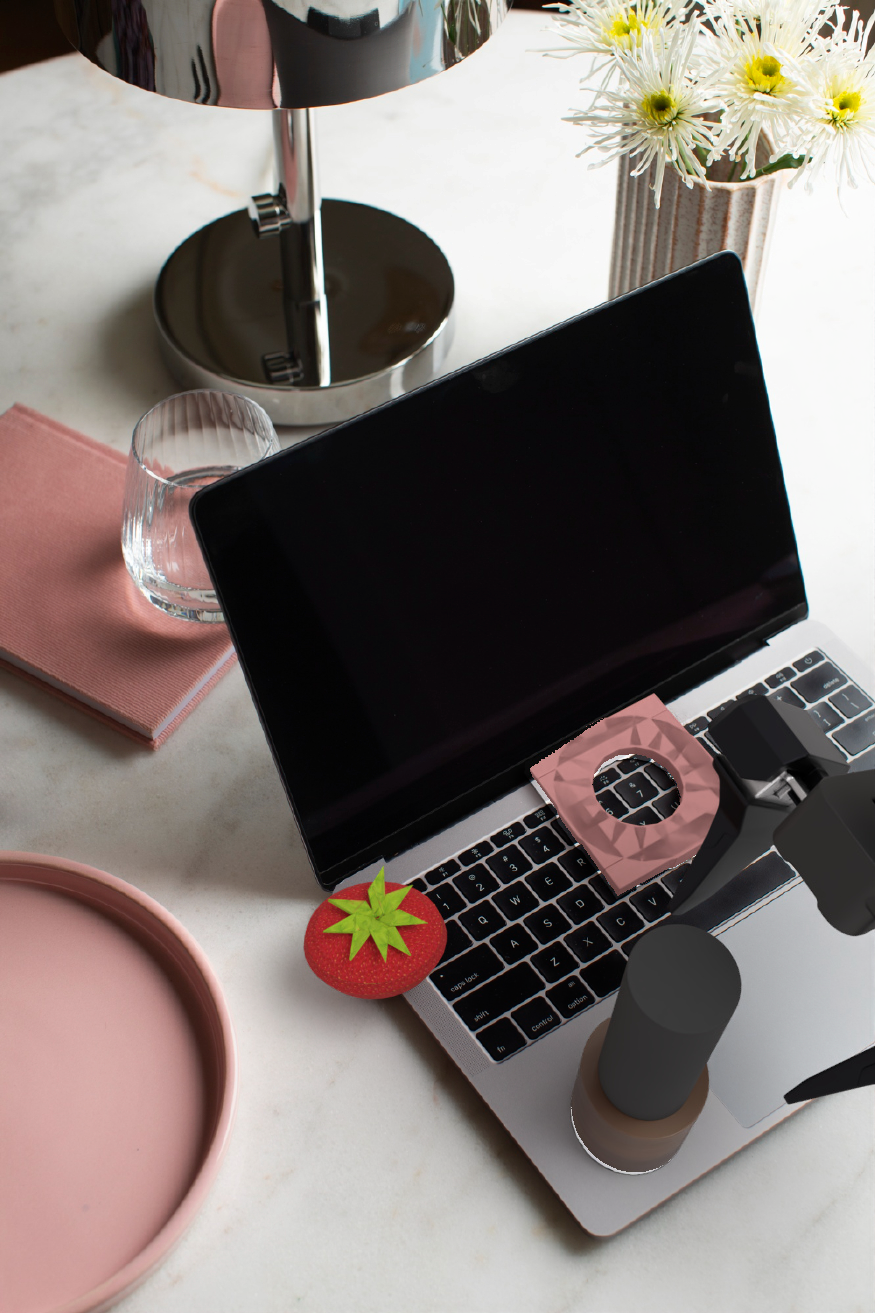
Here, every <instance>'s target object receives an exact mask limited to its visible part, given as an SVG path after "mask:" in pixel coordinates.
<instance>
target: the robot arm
mask: <svg viewBox="0 0 875 1313" xmlns="http://www.w3.org/2000/svg"><path fill="white" fill-rule="evenodd" d="M707 732H708V734H709V736H710V737H711V738H712V740H713V741H714V743H715V744H716V745H717V747H718V748H719V750H720V751H721V753H718V752H717V753H715V755H714V756H713V762H712V766H713V768H714V770H715V771H716V773H717V774H718V777H719V782H720V785H719V806H718V809H717V812H716V814H715V817H714V819H713V821H712V824H711V826H710V829H709V831H708V833H707V835H706V837H705V839H704V841H703V843H702V845H701V847H700V848H701V849H699V850H698V852H697V854H696V856H695V857H694V858H692V860H691V862H690V865H689V866H688V868H687V870H686V871H685V874H684V875H683V877H682V879H681V881H680V883H679V884H678V886H677V887H676V889H675V891H674V892H673V894H672V896H671V898H670V900H669V902H668V904H667V906H666V909H667V911H668V913H669V914H670V915H672V916H681V915H682V916H683V915H684V914H686V913H687V912H689V911H691V910H692V909H694V908H695V907H697V906H698V905H700V904H701V903H703V902H704V901H707V900H708V899H709V898H711V897H712V896H714V895H715V894H716V893H717V892H718V891H719V890H720V889H722V888H723V887H724V886H725V885H727V884H728V883H729V882H730V881H732V880H733V879H734V878H735V877H736V876H737V875H739V874H740V873H742V872H743V871H744V870H745V869H747V867H749V866H750V865H751V864H752V863H753V862H755V861H756V860H758V858H760V857H761V856H762V855H763V854H764V853H765V852H767V851H768V850H769V849H771V848H772V847H773V846H774V847H775V849H776V851H777V853H778V854H779V855H780V857H781V859H782V860H783V861H784V862H786V863H790V864H791V865H792V867H793V868H794V869H795V871H796V872H797V873H798V876H799V877H800V878H801V879H802V881H803V882H804V883H805V885H806V886H807V888H808V889H809V891H810V892H811V893H812V895H813V896H814V898H815V899H816V906H817V910H818V911H819V913H820V914H821V915H822V917H823V918H824V919H825V921H826V922H827V923H828V924H829V925H830V926H831V927H833V929H835V930H836V931H837V932H839V933H841V934H844V935H846V936H850V937H859V936H864V935H866V934H868V933H870V932H871V931H873V930H875V768H870V769H863V770H859V771H853V772H849V771H850V769H851V765H850V764H849V762H848V761H847V759H845V757H844V756H843V754H842V753H841V752H840V751H839V750H838V748H837V747H836V746H835V745H834V743H833V742H832V740H831V739H830V738H829V737H828V736H827V734H826V732H824V731H823V729H822V728H821V727H820V726H819V724H818V723H817V721H816V720H815V719H814V717H812V715H811V714H810V712H808V710H807V709H805V708H802V707H799V706H796V705H793V704H790V703H788V702H785V701H782V700H779V699H778V698H775V697H772V696H768V695H766V694H748V695H746V696H743V697H740V698H738V699H736V700H733V701H732V702H731V703H730V704H729V705H727V706H726V707H725V708H724V709H723V710H722V711H721V712H720V713H718V714H717V715H716V716H715V717H714V718H712V720H710V721H709V722H708V723H707ZM873 1085H875V1045H873V1046H871V1047H869V1048H866V1049H865V1050H863V1051H860V1052H858V1053H857V1054H855V1055H853V1056H850V1057H848V1058H846V1059H844V1060H842V1061H840V1062H837V1063H835V1064H834V1065H832V1066H830V1067H827V1068H825V1069H823V1070H821V1071H819V1072H817V1073H815V1074H813V1075H811V1076H808V1077H807V1078H805V1079H803V1080H802V1081H801V1082H800V1083H798V1084H797V1085H796V1086H794V1087H793V1088H792V1089H790V1090H789V1091H787V1092H786V1093H784V1094H783V1099H784V1101H785V1103H786V1104H787V1105H789V1106H790V1105H793V1104H799V1103H802V1102H806V1101H810V1100H814V1099H819V1098H824V1097H827V1096H832V1095H836V1094H839V1093H843V1092H848V1091H852V1090H856V1089H860V1088H865V1087H869V1086H873Z"/></svg>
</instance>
